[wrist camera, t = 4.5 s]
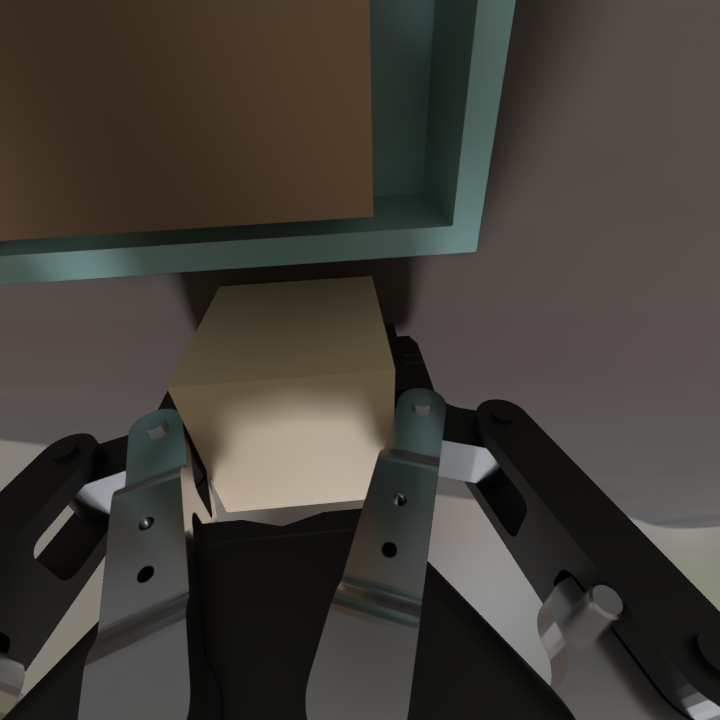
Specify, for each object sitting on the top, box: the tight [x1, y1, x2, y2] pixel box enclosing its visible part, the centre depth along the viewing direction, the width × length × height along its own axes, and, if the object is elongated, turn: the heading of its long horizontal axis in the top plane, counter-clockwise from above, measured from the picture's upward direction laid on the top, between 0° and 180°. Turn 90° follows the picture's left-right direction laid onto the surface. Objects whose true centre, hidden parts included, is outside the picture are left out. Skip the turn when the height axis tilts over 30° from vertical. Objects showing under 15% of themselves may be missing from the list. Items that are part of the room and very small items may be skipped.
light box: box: [167, 276, 395, 512], centre depth 11 cm, size 5×5×5 cm
